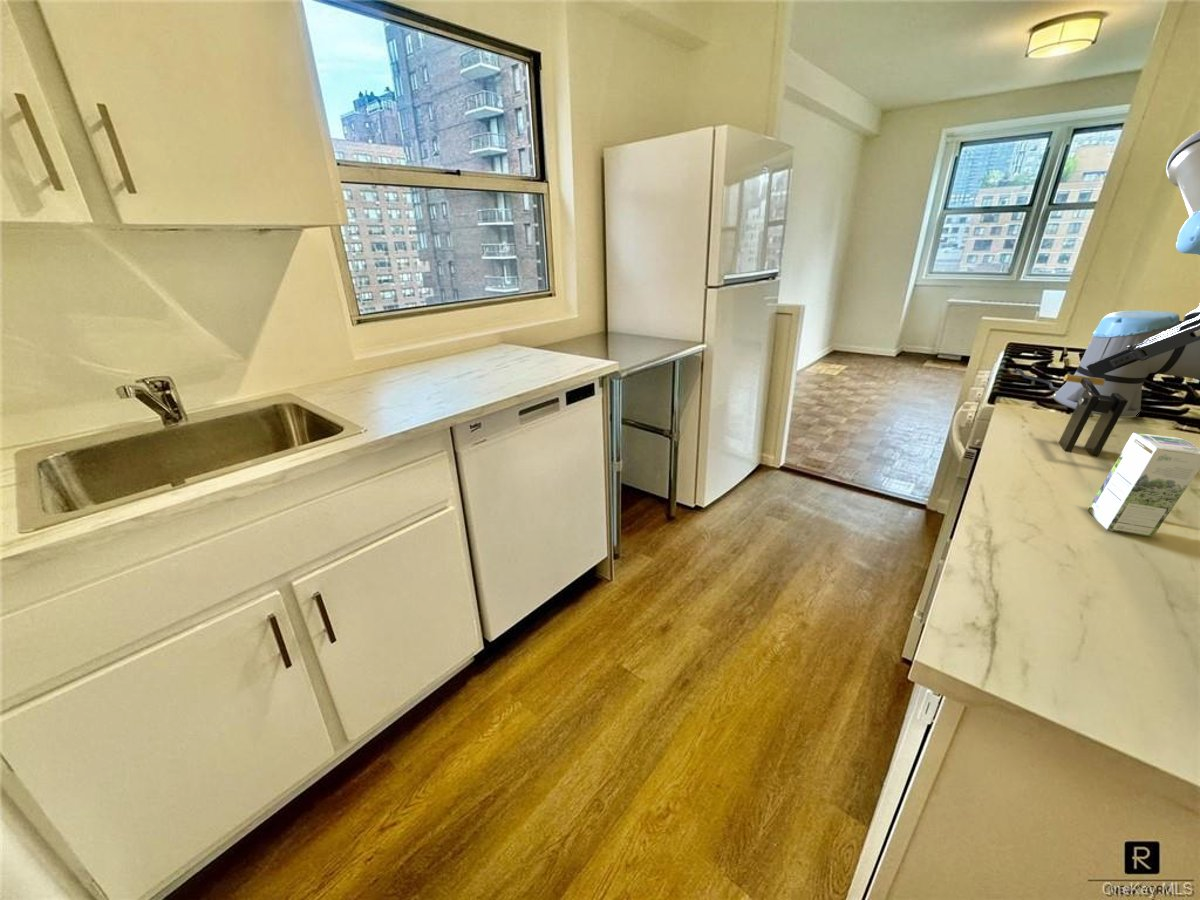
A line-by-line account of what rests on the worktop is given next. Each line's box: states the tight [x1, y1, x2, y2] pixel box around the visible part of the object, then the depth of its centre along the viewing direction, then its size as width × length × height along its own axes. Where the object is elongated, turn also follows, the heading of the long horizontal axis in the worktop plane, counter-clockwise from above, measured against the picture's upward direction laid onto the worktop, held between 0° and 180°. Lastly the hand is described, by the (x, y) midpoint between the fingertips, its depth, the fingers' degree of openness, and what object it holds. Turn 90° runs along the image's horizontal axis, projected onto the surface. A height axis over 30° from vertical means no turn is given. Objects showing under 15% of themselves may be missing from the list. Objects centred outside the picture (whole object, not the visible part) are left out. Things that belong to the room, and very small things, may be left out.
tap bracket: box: [1058, 389, 1128, 458], centre depth 93 cm, size 10×9×13 cm
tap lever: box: [1063, 373, 1114, 413], centre depth 95 cm, size 14×6×2 cm, turn 152°
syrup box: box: [1087, 432, 1200, 538], centre depth 72 cm, size 6×6×14 cm
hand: (1090, 371), depth 99 cm, fingers closed
